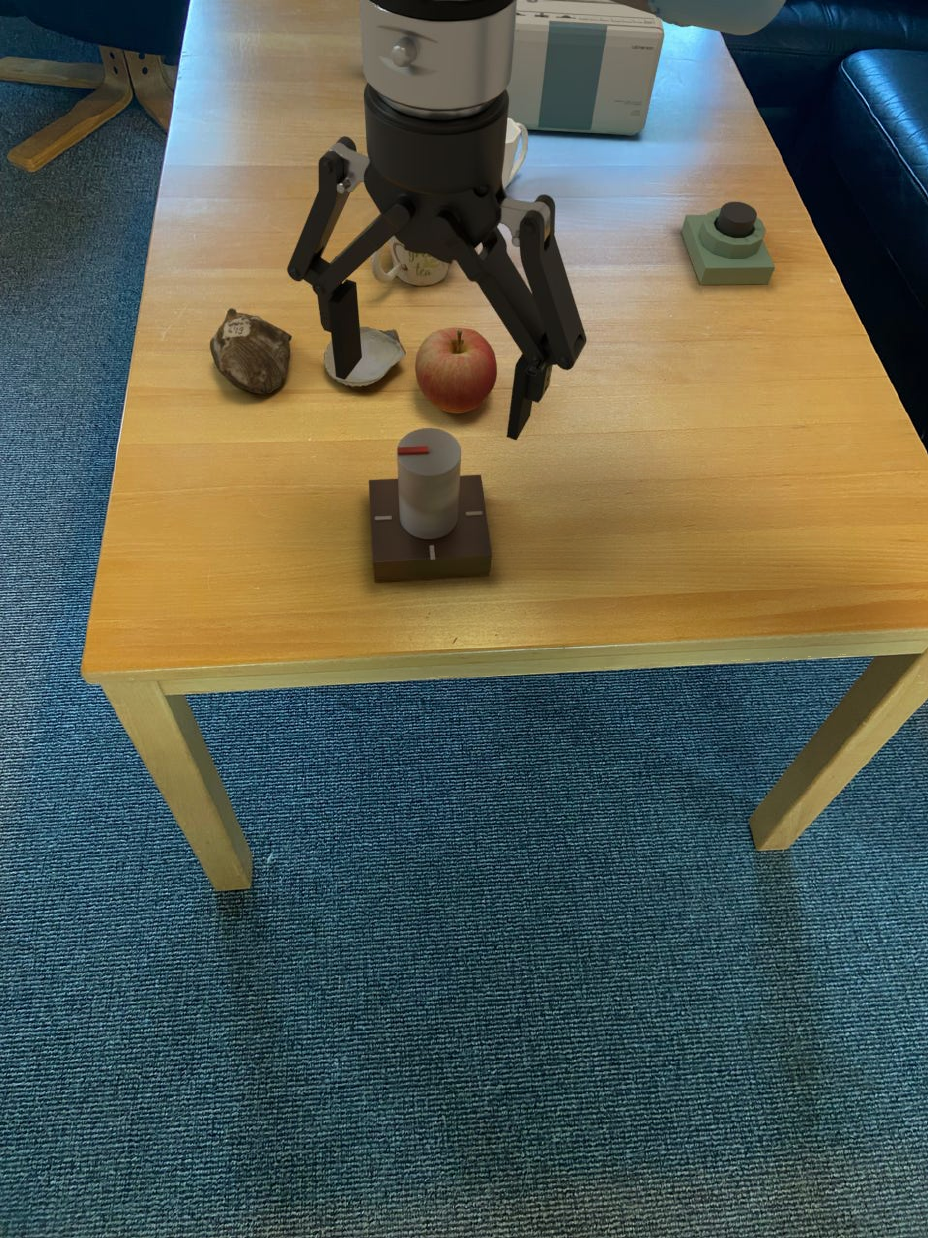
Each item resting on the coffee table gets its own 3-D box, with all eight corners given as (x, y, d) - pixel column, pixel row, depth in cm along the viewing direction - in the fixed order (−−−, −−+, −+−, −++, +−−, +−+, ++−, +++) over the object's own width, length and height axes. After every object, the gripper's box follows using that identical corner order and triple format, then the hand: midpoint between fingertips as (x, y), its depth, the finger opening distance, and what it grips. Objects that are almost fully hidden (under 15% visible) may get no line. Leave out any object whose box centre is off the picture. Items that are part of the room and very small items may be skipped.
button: (755, 239, 93) (761, 222, 91) (720, 239, 93) (726, 222, 91) (745, 217, 95) (751, 200, 93) (711, 218, 95) (717, 201, 93)
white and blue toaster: (484, 134, 109) (494, -50, 92) (485, 101, 113) (495, -80, 96) (642, 143, 109) (682, -39, 92) (637, 110, 114) (674, -69, 97)
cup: (446, 194, 101) (447, 126, 95) (502, 164, 105) (507, 97, 98) (487, 220, 99) (491, 152, 92) (543, 188, 103) (551, 120, 96)
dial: (455, 492, 73) (458, 423, 66) (460, 537, 70) (464, 471, 63) (398, 495, 72) (395, 426, 65) (401, 541, 70) (398, 474, 62)
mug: (471, 263, 94) (476, 178, 86) (410, 323, 89) (408, 238, 80) (411, 237, 97) (409, 151, 88) (346, 295, 91) (338, 208, 82)
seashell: (326, 363, 87) (333, 401, 82) (317, 336, 85) (324, 374, 80) (401, 342, 88) (413, 379, 82) (395, 315, 85) (406, 351, 80)
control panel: (479, 495, 76) (481, 472, 74) (490, 577, 72) (492, 555, 69) (370, 500, 76) (368, 477, 73) (374, 583, 71) (372, 562, 68)
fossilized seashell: (223, 307, 85) (190, 385, 81) (242, 271, 80) (207, 352, 76) (290, 345, 88) (261, 421, 84) (313, 312, 83) (283, 392, 79)
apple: (449, 359, 86) (451, 293, 79) (510, 395, 83) (517, 330, 77) (398, 400, 82) (395, 334, 76) (459, 439, 80) (462, 375, 73)
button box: (768, 283, 95) (781, 252, 91) (700, 285, 94) (710, 253, 91) (745, 230, 100) (757, 199, 96) (681, 231, 99) (690, 199, 96)
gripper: (186, 55, 43) (256, 374, 61) (648, 187, 38) (575, 489, 56) (262, -3, 46) (306, 314, 64) (691, 111, 42) (610, 417, 60)
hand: (432, 396), depth 60 cm, fingers open, 13 cm apart
